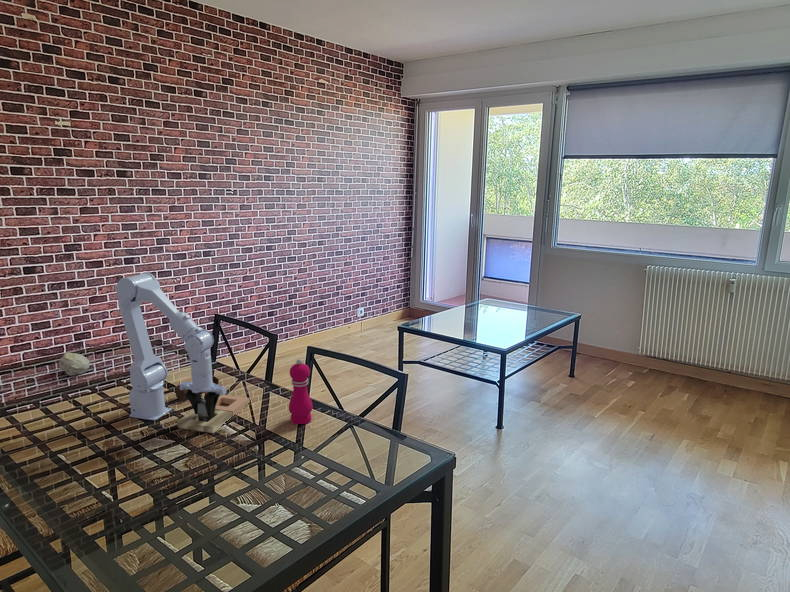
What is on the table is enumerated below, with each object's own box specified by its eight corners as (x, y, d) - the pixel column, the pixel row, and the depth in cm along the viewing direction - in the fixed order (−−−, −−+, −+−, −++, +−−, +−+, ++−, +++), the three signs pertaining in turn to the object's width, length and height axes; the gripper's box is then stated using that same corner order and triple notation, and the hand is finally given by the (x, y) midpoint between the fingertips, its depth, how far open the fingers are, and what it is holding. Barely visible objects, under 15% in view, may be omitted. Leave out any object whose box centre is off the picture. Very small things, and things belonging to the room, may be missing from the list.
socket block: (199, 412, 163) (198, 406, 162) (217, 399, 172) (217, 393, 172) (233, 417, 160) (232, 411, 159) (249, 403, 169) (249, 398, 169)
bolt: (218, 390, 184) (182, 404, 171) (209, 381, 185) (173, 394, 173) (223, 379, 181) (187, 392, 168) (214, 369, 183) (178, 382, 170)
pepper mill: (317, 418, 160) (316, 357, 156) (304, 428, 154) (302, 365, 149) (298, 413, 163) (296, 353, 159) (284, 422, 157) (282, 360, 152)
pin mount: (177, 427, 153) (177, 421, 152) (198, 412, 162) (197, 407, 162) (213, 433, 150) (212, 426, 150) (232, 417, 159) (231, 412, 159)
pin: (195, 424, 155) (193, 403, 153) (203, 418, 159) (202, 397, 157) (207, 426, 154) (205, 405, 152) (215, 420, 158) (213, 399, 156)
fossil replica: (83, 366, 200) (55, 376, 192) (77, 345, 197) (49, 355, 190) (98, 370, 193) (70, 381, 185) (92, 350, 191) (63, 359, 183)
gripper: (171, 373, 150) (175, 416, 153) (215, 379, 147) (218, 423, 150) (186, 365, 157) (190, 406, 160) (229, 370, 153) (231, 412, 157)
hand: (204, 413), depth 155 cm, fingers closed on pin, 4 cm apart
